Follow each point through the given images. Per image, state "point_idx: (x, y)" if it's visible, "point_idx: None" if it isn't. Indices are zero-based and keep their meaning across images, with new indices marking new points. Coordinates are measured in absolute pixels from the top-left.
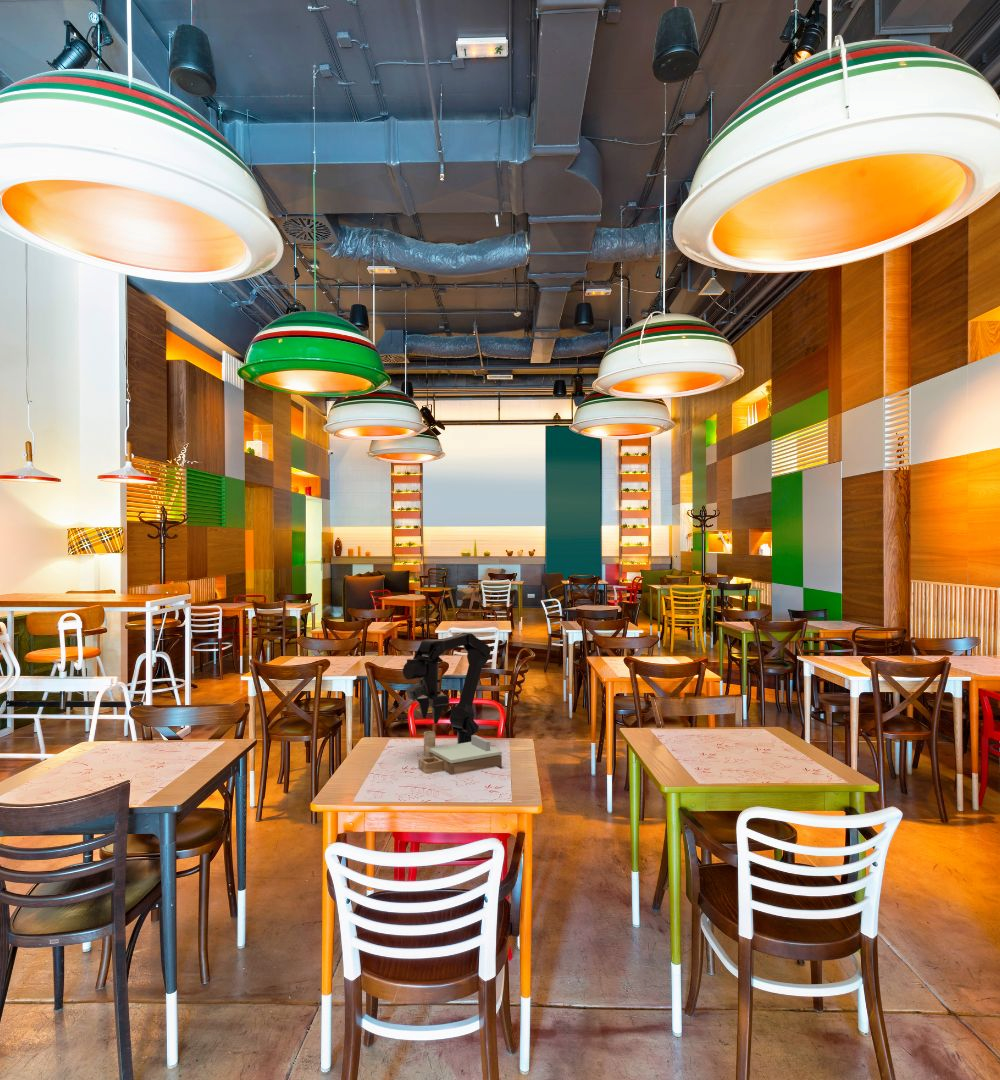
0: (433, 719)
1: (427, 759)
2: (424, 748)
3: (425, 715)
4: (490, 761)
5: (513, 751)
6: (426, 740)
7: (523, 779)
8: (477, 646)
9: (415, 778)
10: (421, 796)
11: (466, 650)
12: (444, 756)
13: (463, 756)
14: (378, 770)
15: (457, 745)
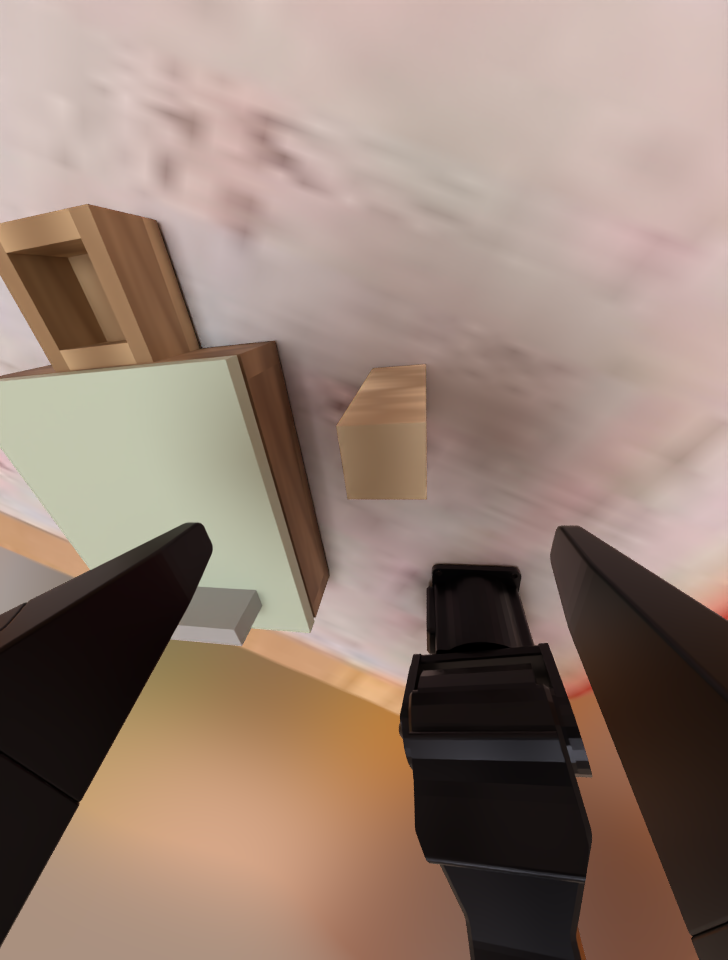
0: (154, 549)
1: (106, 285)
2: (412, 379)
3: (563, 588)
4: None
5: (346, 668)
6: (370, 402)
7: (67, 563)
8: None
9: (41, 153)
10: None
11: None
12: (25, 381)
13: (38, 473)
14: None
15: (252, 535)
